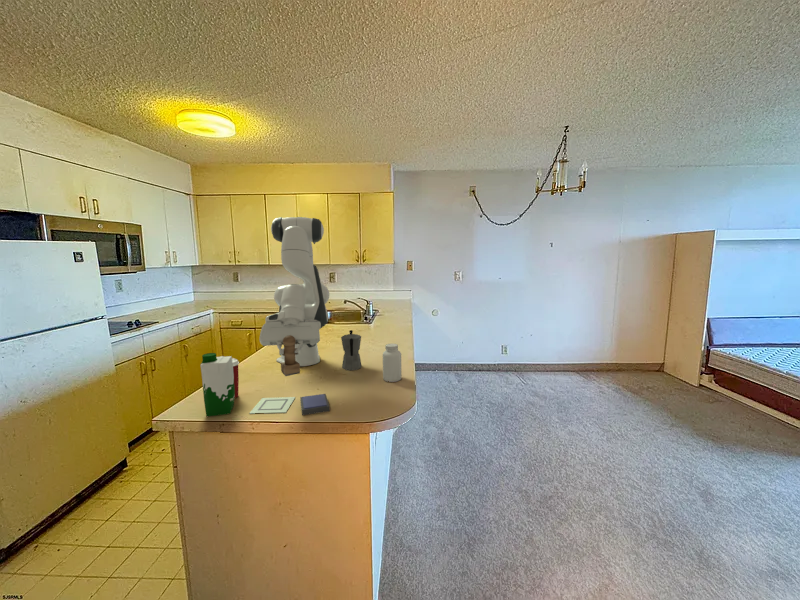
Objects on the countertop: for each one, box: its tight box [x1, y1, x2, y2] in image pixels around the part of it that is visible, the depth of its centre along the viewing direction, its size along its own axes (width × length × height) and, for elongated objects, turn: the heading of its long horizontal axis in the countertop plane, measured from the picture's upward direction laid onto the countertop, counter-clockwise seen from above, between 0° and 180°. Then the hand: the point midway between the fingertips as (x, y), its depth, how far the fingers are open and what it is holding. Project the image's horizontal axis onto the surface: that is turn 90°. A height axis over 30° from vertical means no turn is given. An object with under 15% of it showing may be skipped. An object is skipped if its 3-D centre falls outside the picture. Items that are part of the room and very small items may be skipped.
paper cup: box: [232, 357, 240, 399], centre depth 122 cm, size 8×8×14 cm
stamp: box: [280, 335, 301, 377], centre depth 113 cm, size 5×5×13 cm
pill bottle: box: [382, 343, 402, 383], centre depth 140 cm, size 8×8×15 cm
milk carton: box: [200, 352, 236, 417], centre depth 111 cm, size 9×9×20 cm
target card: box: [249, 396, 296, 415], centre depth 116 cm, size 12×12×1 cm
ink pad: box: [299, 393, 331, 416], centre depth 115 cm, size 11×9×2 cm
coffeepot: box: [340, 329, 362, 371], centre depth 154 cm, size 15×9×18 cm, turn 9°
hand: (289, 354), depth 112 cm, fingers closed on stamp, 4 cm apart
